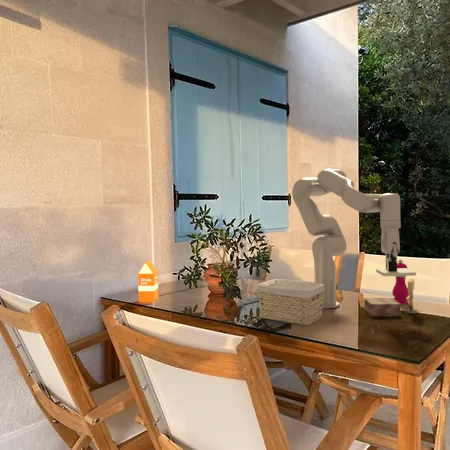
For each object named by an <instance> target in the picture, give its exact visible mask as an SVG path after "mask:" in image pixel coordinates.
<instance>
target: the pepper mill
mask: <svg viewBox="0 0 450 450" xmlns="http://www.w3.org/2000/svg"><path fill="white" fill-rule="evenodd" d="M403 262H404V261H403V260H402V259H399V260H397V268H407V269H408V266H407V264H406V263H403ZM394 278H395V284H394V286H393V288H392V291H391V294H392V296H393V299H395V300H396V301H397V302H398V303H400V305H406V304H409V301H407V297H408V295H409V292H408V285H407V283H406V278H407V276H394Z"/></svg>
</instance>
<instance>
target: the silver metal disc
mask: <svg viewBox="0 0 450 450" xmlns="http://www.w3.org/2000/svg"><path fill="white" fill-rule="evenodd" d="M417 312H418V311H417V309H414V308H413V310H409V308H407V309H405V313H406V314H409V315H416V314H417Z"/></svg>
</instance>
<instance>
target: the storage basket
mask: <svg viewBox="0 0 450 450" xmlns="http://www.w3.org/2000/svg"><path fill="white" fill-rule="evenodd" d="M324 290H325V288H324V284H319V283H315V282H309V281H303V280H302V281H301V280H291V279H285V278H284V279H283V278H282V279H281V278H279V279H278V278H274V279H271V280H270V279H269V280H267V281H263V282H260V283H258V284H257V285H256V292H257V294H258V295H257V296H258V304H259V312H260V313H259V314H260V318H262V319H266V320H273V321H277V322H284V323H288V324H297V325H301V326H310V325H311V324H312V323H315V322H317V321H319V320H320V319H322V317H323V316H322V315H323V308H322V304H323V300H322V299H323V291H324Z"/></svg>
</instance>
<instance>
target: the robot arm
mask: <svg viewBox="0 0 450 450" xmlns="http://www.w3.org/2000/svg"><path fill="white" fill-rule="evenodd" d="M292 186H293V187H292V191H291V196H292V201H293V202H294V204H295V206H296V207H297V210H298V212H299V214H300V217H301V219H302V221H303V223H304V226H305V228H306V230H307V232H308V234H309V235H311V236H312V237H313V236H314V237H318V236H320V237H318V238H316V239H314V240H313V242H312V245H311V252H312V257H313V265H314V266H313V269H314V283H319V284H324V288H325V290H324V291H323V299H322V300H323V304H322V309H337V308H339V307H340V305H341V304H340V302H338V301H337V269H336V263H335V260H334V258H333V257H338V256H342V255H343V254H344V253H345V252H346V250H347V246H348V245H347V241H346V238H345V236H344V234H343V231H342V229H341V227H340V225H339V223H338V221H337V219H336V218H335V217H334V216H332V215H331V214H330V215H329V214H322V213H321V212H320V210H319V207H318V205H317V204H316V202H315V201H314V200H313V199H312V198H311V197H321V196H322V197H323V196H325V195H328V194H330V193H332V194H334V195H336V196H337V197H340V198H341V200H342V201H343V203H344V204H345V205H347V206H349V207H350V208H352V209H353V210H355V211H357V212H359V213H364V214H365V213H379V216H380V218H379V220H380V225H379V226H380V229H381V238H380V241H381V242H380V251H381V253H384V254H385V259H386V258H389V261H388V268H389V272H395V271H397V263H398V255H399V253H400V252H401V245H400V230H399V229H401V226H402V225H401V223H402V222H401V198H400V197H401V196H400V195H399V193H383V194H381V193H363V192H361V191H359V190H357V189H355V182H354V181H353V180H352V179H350V178H348V177H347V175H346V173H345V172H344V170H341V169H335V168H325V169H322V170H320V172H318V174H317V177H304V178H300V179H297V180H296V181H295V182H294V184H293V185H292ZM385 269H386V270H387V261H386V260H385Z"/></svg>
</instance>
